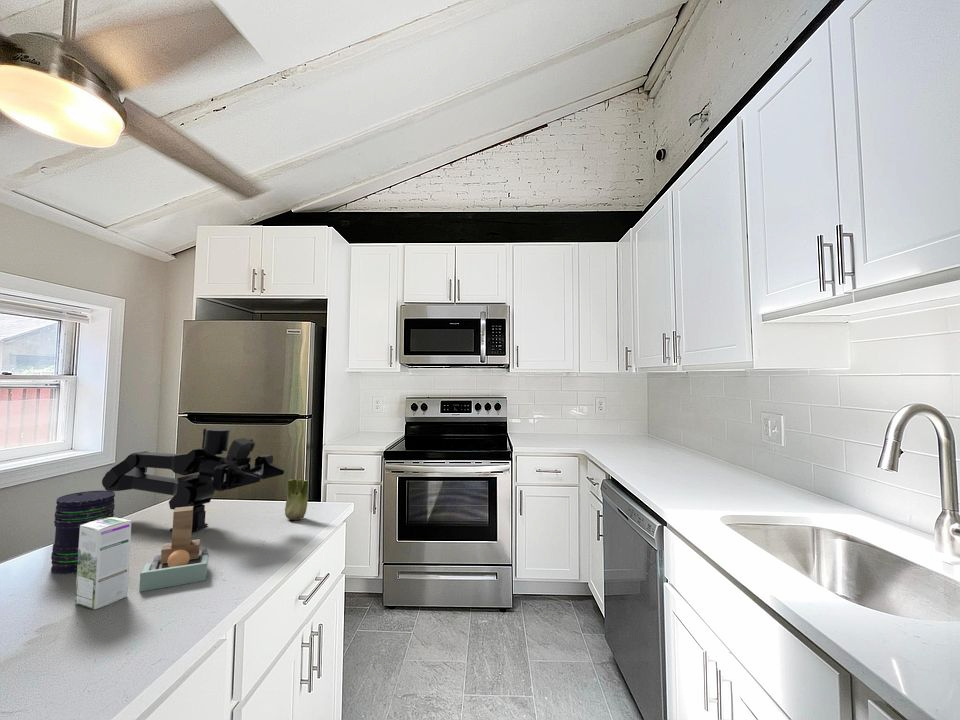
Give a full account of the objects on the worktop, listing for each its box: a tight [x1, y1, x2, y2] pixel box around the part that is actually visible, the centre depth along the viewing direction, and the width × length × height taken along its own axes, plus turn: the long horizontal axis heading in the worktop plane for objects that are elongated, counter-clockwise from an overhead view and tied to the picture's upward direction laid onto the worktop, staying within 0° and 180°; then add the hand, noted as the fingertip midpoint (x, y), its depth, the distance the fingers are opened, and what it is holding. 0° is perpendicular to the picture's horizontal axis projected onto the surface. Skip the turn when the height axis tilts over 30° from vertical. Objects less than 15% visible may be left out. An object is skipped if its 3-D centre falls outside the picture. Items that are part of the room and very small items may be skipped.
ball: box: [166, 550, 191, 568], centre depth 95 cm, size 4×4×4 cm
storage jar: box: [50, 490, 116, 575], centre depth 96 cm, size 10×10×15 cm
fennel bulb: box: [284, 478, 309, 521], centre depth 130 cm, size 6×5×12 cm
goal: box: [138, 554, 209, 593], centre depth 90 cm, size 6×11×4 cm, turn 120°
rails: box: [151, 548, 208, 570], centre depth 98 cm, size 8×10×1 cm
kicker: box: [160, 506, 201, 565], centre depth 99 cm, size 4×7×11 cm, turn 120°
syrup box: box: [74, 516, 132, 611], centre depth 81 cm, size 6×6×14 cm
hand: (272, 475), depth 115 cm, fingers open, 9 cm apart
